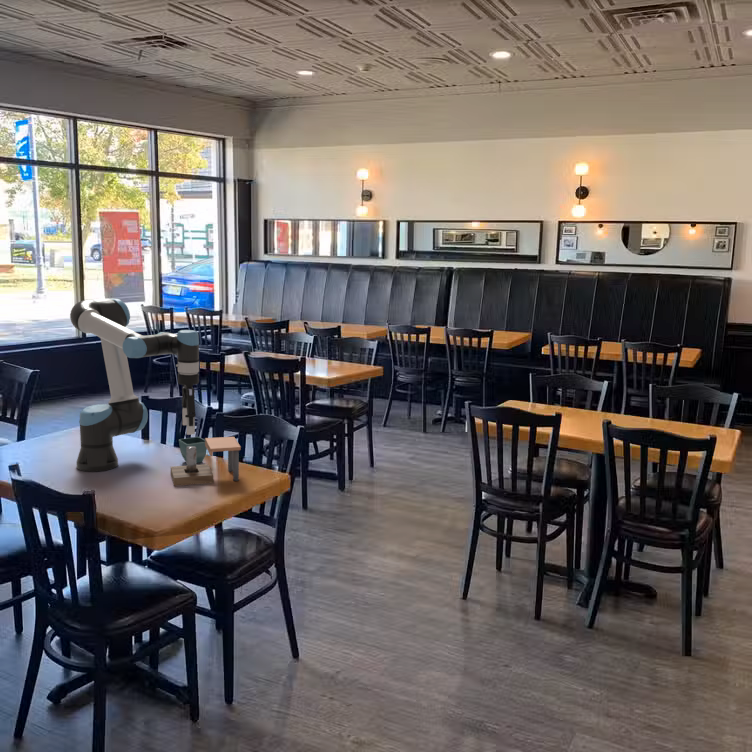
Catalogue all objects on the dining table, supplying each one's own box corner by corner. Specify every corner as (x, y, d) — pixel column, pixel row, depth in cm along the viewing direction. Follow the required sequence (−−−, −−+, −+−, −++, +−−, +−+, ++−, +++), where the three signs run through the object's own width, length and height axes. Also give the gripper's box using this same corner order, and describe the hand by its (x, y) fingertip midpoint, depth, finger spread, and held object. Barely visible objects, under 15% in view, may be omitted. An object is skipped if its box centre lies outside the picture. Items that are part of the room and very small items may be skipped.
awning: (205, 471, 293) (205, 438, 290) (233, 469, 296) (234, 436, 294) (210, 483, 279) (210, 448, 277) (240, 481, 283) (240, 446, 280)
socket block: (170, 474, 288) (170, 466, 287) (208, 471, 293) (208, 464, 292) (174, 485, 275) (173, 477, 274) (213, 482, 280) (213, 475, 279)
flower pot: (187, 466, 298) (186, 444, 297) (178, 460, 305) (178, 439, 304) (208, 463, 303) (207, 441, 302) (199, 457, 310) (198, 436, 309)
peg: (186, 477, 285) (185, 446, 283) (195, 476, 286) (195, 445, 284) (187, 480, 282) (186, 449, 279) (197, 479, 283) (196, 448, 281)
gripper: (174, 367, 287) (174, 421, 291) (181, 379, 264) (181, 438, 268) (194, 366, 289) (194, 420, 293) (203, 379, 266) (203, 437, 270)
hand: (188, 429), depth 280 cm, fingers open, 13 cm apart
